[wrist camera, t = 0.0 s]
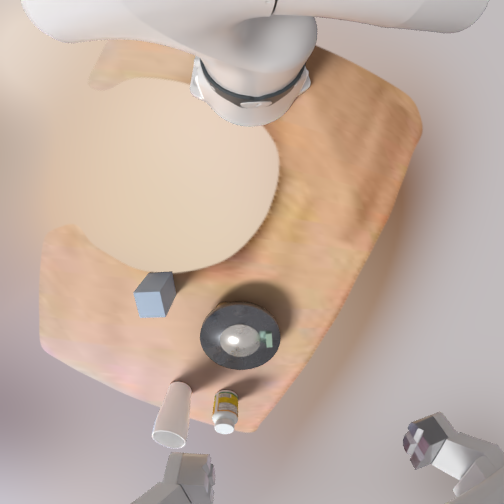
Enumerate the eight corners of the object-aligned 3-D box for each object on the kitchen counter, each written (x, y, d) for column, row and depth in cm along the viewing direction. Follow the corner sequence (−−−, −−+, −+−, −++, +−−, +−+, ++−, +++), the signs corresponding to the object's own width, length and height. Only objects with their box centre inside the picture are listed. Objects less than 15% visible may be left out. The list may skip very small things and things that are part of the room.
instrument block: (148, 273, 48) (133, 292, 40) (172, 271, 48) (159, 291, 40) (153, 295, 49) (140, 317, 41) (176, 294, 49) (165, 317, 41)
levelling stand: (197, 297, 49) (193, 310, 45) (276, 291, 49) (279, 304, 45) (208, 358, 53) (206, 373, 49) (278, 353, 53) (281, 369, 49)
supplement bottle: (226, 385, 56) (224, 418, 47) (243, 397, 57) (243, 429, 48) (209, 395, 57) (205, 427, 48) (226, 407, 58) (224, 438, 49)
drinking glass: (191, 377, 55) (180, 430, 41) (198, 397, 57) (190, 449, 43) (162, 378, 55) (145, 429, 41) (170, 398, 57) (158, 447, 43)
